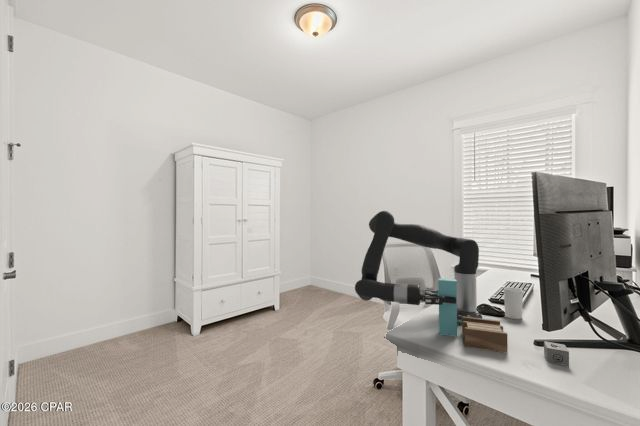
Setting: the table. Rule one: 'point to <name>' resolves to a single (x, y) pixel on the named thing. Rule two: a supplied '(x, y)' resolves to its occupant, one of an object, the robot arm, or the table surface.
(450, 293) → the teal board
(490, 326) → the oak offcut middle
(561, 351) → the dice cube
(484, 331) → the walnut rack
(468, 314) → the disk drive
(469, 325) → the oak offcut front
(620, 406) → the table surface
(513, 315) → the mug
